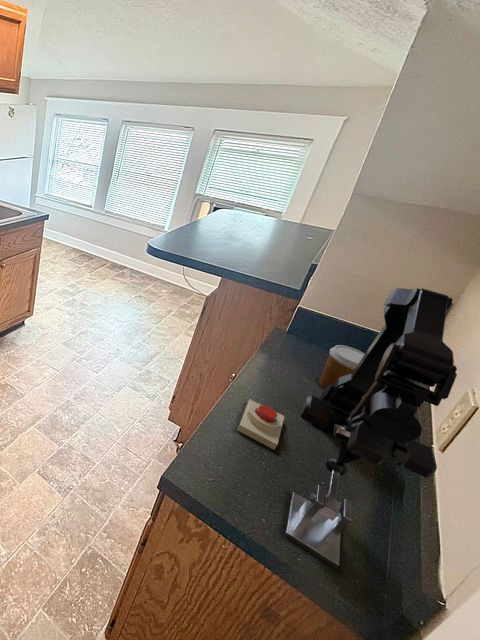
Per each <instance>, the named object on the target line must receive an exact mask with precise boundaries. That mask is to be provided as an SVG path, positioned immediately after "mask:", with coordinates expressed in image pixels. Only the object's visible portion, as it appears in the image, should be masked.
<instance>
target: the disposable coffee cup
mask: <svg viewBox="0 0 480 640" xmlns="http://www.w3.org/2000/svg"><path fill="white" fill-rule="evenodd" d="M364 355H365V353H364V352H362V351H360V350H359V349H356V348H354V347H351V346H348V345H343V344H336V345H335V346H333V347H331V348H330V349H329V355H328V358H327V360H326V361H325V362H326V363H325V365H324V368H323V370H322V372H321V375H320V377H319V379H318V383H319V385H320V386H321V387H322V388H324V389H325V388H326V387H327V386H329V385H330V384H332V385H334V383H335V382H336V381H337V379H338V378H339V377H342V376H346V375H349V374H352V372H353V371H354V370H355V368H356V367H357V365H358V364H359V362H360V361H361V359H362V358H363V356H364Z"/></svg>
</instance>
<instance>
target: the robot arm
mask: <svg viewBox="0 0 480 640" xmlns="http://www.w3.org/2000/svg"><path fill="white" fill-rule="evenodd" d="M383 306H384V308H383V318H384V325H383V327H382V328H381V329H380V331H379V332H378V333H377V335H376V337H375V338H374V340H373V341H372V343H371V344H370V346H369V347H368V349H367V350H366V352H365V353H364V354H365V355H364V356H363V358H362V359H361V361H360V362H359V364H358V365H357V367H356V368H355V370H354V371H353V372H352V374H349V375H346V376H342V377H339V378H338V379H337V381H336V382H335V383H334V385H332V384H330V385H329V386H327V387H326V388H324V389H323V391H322V392H321V394H320V398H319V397H317V396H315V395H312V394H311V395H308V396H306V397H305V398H304V400H303V401H302V405H301V410H300V416H299V417H300V418H301V419H302V420H304V421H306V422H307V423H310V424H312V426H313V427H315V428H317V429H320V430H321V431H324V432H326V433H327V434H329V435H332V436H333V437H335V438H336V439H337V440H339V449H338V458H337V459H338V462H339V463H341V464H348V463H350V462H353V461H356V460H359V459H361V458H362V459H364V460H367V461H369V462H370V463H372V464H373V465H378V466H379V465H382V464H383V463H387V464H389V465H391V466H393V467H396V465H397V466H399V467H402V466H403V467H404V468H405V469H407V470H409V471H411V472H413V473H414V474H417V475H419V476H421V477H423V478H427V479H428V478H431V477H432V476H433V475H434V474H435V473H436V471H437V470H438V465H437V461H436V456H435V452H434V450H433V448H432V447H430V446H427V445H425V444H423V443H421V442H419V441H416V440H417V439H418V438H420V436H421V435H422V430H423V428H422V418H421V406H422V404H424V402H425V403H428V404H431V405H433V406H435V407H438V406H439V405H440V404H441V402H442V400H446V399H448V398H449V396H450V394H451V391H452V388H453V386H454V384H455V381H456V379H457V376H458V374H457V370H458V368H457V366H456V364H454V363H455V359H454V358H455V357H454V351H453V350H452V349H451V348H450V347H449V346H448V345H447V344H446V343H445V342H444V332H445V326H446V325H445V324H446V319H447V317H448V315H449V313H450V312H451V309H452V308H453V307H454V304H453V297H450V296H449V295H447V294H444V293H440V292H437V291H434V290H429V289H426V288H422V287H420V288H419V287H415V288H404V287H397V288H394V289H393V290H391V291H390V292H389V294H387V297H386V298H385V299H384V302H383ZM419 383H420V384H422V385H424V386H427V387H431V388H433V387H434V390H432V389H428V388H426V387H423V386H421V385H420V384H419Z"/></svg>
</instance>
